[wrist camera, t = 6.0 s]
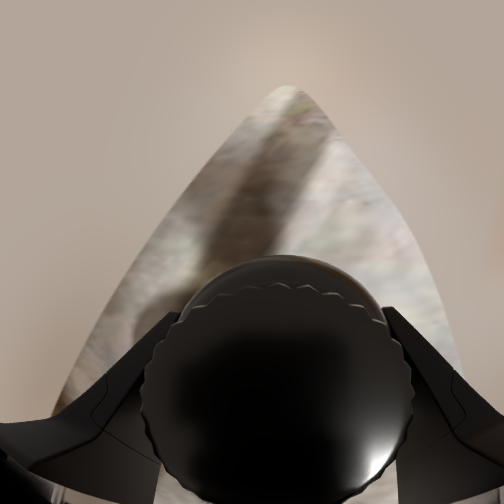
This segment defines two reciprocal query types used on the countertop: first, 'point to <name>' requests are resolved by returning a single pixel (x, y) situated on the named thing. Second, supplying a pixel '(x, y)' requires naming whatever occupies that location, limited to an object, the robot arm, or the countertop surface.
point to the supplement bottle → (278, 387)
